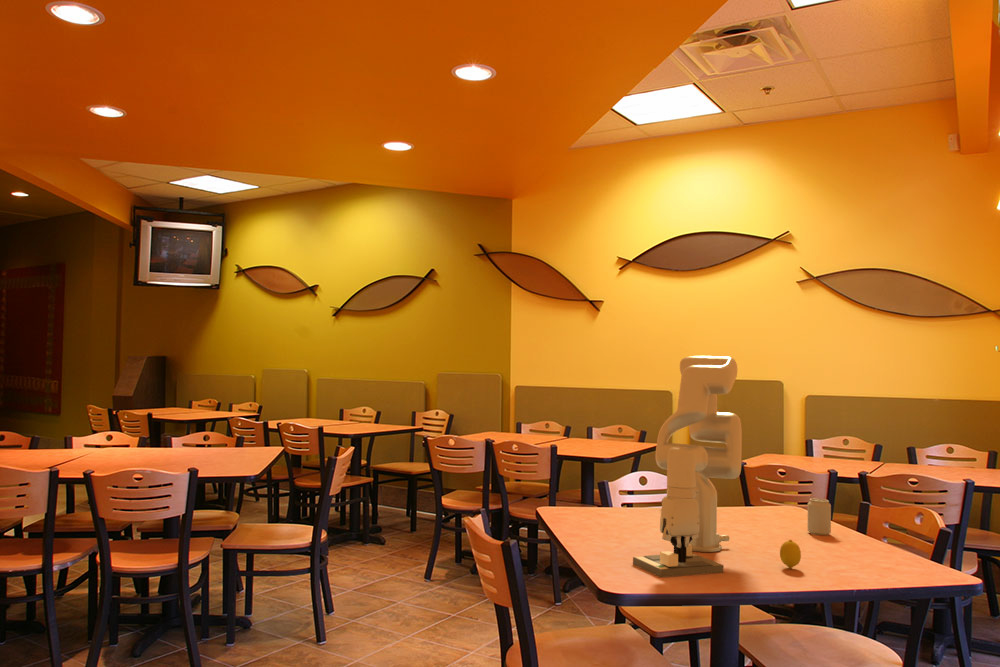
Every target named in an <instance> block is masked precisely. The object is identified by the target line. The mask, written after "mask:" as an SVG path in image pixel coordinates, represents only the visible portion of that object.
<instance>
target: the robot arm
mask: <svg viewBox="0 0 1000 667" xmlns="http://www.w3.org/2000/svg"><path fill="white" fill-rule="evenodd" d="M679 371H680V375H681V376H680V377H681V378H680V384H679V391H678V392H679V393H678V398H677V399H678V401H677V409H676V410H675V412H673V413H672V414H671V415H670V416H668V418H666V420H665V421H664V423H663V424H662V425H661V427H660V428H659V431H658V434H657V440H656V445H655V446H656V447H655V456H654V457H655V462H656V465H657V467H659V468H660V469H662V470H666V496H667V497H665V496H664V497H663V498H664V500H663V504H662V503H661V511H660V520H659V530H660V533H662V540H664V541H667V542H670V543H671V545H672V546H673V553H675V554H678V562H680V563H682V562H686V547H688V546H689V544H691V545H692V552H701V553H715V552H716V553H717V552H719V551H722V547H723V546H722V545H721V544H720V543H721V542H729V541H730V536H729V534H722V535H721V534H720V533H717V532H718V531H717V530H718V529H717V524H718V522H717V519H718V518H717V517H718V490H717V489H716V486H714V484H713V483H712V481H711V480H710V478H711V479H713V478H715V479H725V480H726V479H728V480H734V479H737V478H739V476H740V475H741V471H742V459H743V458H742V446H743V444H742V442H743V438H742V437H743V436H742V435H743V430H742V421H741V418H740V417H739V415H738V414H736V413H734V412H733V413H732V412H723V411H722V412H719V411H718V396H717V395H727V394H730V392H731V391H732V389H733V385H734V384H735V381H736V379H737V377H738V364H737V362H736V359H734V358H733V357H731V356H723V355H722V356H720V355H719V356H714V355H713V356H712V355H693V356H692V355H690V356H686V357H683V358H681V360H680V362H679ZM686 427H688V430H689V431H688V432H689V436H690V438H691V439H692V440H694V441H696V442H702V443H703V442H704V443H718V444H724V445H726V447H721V446H720V447H719V446H710V445H709V446H708V445H698V444H686V443H674V442H673V443H671V442H669V441H670V439H671V437H672V436H673V435H674V434H675V433H676V432H678V431H679V430H681V429H683V428H686Z"/></svg>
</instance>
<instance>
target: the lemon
mask: <svg viewBox="0 0 1000 667" xmlns="http://www.w3.org/2000/svg"><path fill="white" fill-rule="evenodd" d="M779 557H780V560H781V562H782V563H783V564H784V565H785V566H787V567H788V569H790V570H791V569H792V568H793V567H796V566H798V565H799V564H800V561H801V558H802V551H801V547H800V546H799V544H797V542H795V541H794V540H792V539H788V540H786V541H784V542H783V543H782V544H781V546H780V549H779Z"/></svg>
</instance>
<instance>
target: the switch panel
mask: <svg viewBox="0 0 1000 667" xmlns="http://www.w3.org/2000/svg"><path fill="white" fill-rule="evenodd" d="M632 565H634V566H636V567H637V568H640V569H642V570H644V571H646V572H648V573H650V574H652V575H654V576H657V577H659V578H669V577H682V576H697V575H709V574H710V575H711V574H721V573H724V564H721V563H720V562H719V563H718V562H717V561H714V560H711V559H709V558H706V557H703V556H701V555H698V554H696V553H693V552H692V556H686V562H682V563H680V562H678V566H670V567H668V566H666V565H663V564H661V563H660V554H652V555H643V556H642V555H641V556H633V557H632Z"/></svg>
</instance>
